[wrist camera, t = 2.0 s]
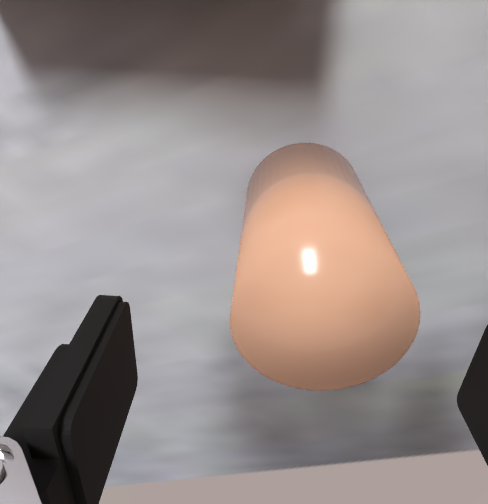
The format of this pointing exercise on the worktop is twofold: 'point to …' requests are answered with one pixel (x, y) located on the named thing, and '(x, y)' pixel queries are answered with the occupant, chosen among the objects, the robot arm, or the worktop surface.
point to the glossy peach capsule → (318, 276)
